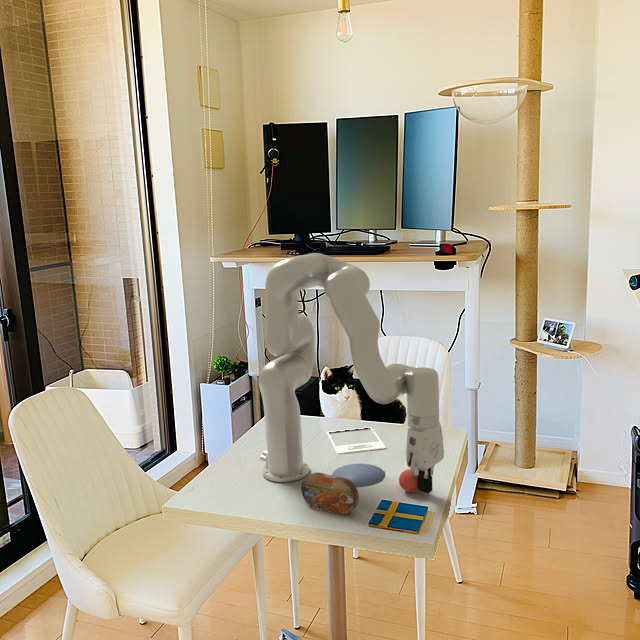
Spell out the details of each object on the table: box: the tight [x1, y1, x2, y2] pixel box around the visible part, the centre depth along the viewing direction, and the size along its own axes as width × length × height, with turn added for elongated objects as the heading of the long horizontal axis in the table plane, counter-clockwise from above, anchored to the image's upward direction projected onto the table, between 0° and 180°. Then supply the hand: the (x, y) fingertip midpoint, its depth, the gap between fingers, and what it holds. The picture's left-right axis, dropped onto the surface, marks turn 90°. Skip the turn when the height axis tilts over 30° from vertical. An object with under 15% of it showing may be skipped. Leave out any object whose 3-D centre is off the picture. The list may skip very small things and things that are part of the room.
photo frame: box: [325, 426, 387, 455], centre depth 197 cm, size 15×1×18 cm
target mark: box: [331, 463, 385, 488], centre depth 173 cm, size 14×14×1 cm
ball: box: [398, 468, 418, 493], centre depth 162 cm, size 6×6×6 cm
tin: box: [300, 471, 360, 516], centre depth 154 cm, size 15×3×8 cm, turn 56°
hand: (425, 490), depth 159 cm, fingers closed
